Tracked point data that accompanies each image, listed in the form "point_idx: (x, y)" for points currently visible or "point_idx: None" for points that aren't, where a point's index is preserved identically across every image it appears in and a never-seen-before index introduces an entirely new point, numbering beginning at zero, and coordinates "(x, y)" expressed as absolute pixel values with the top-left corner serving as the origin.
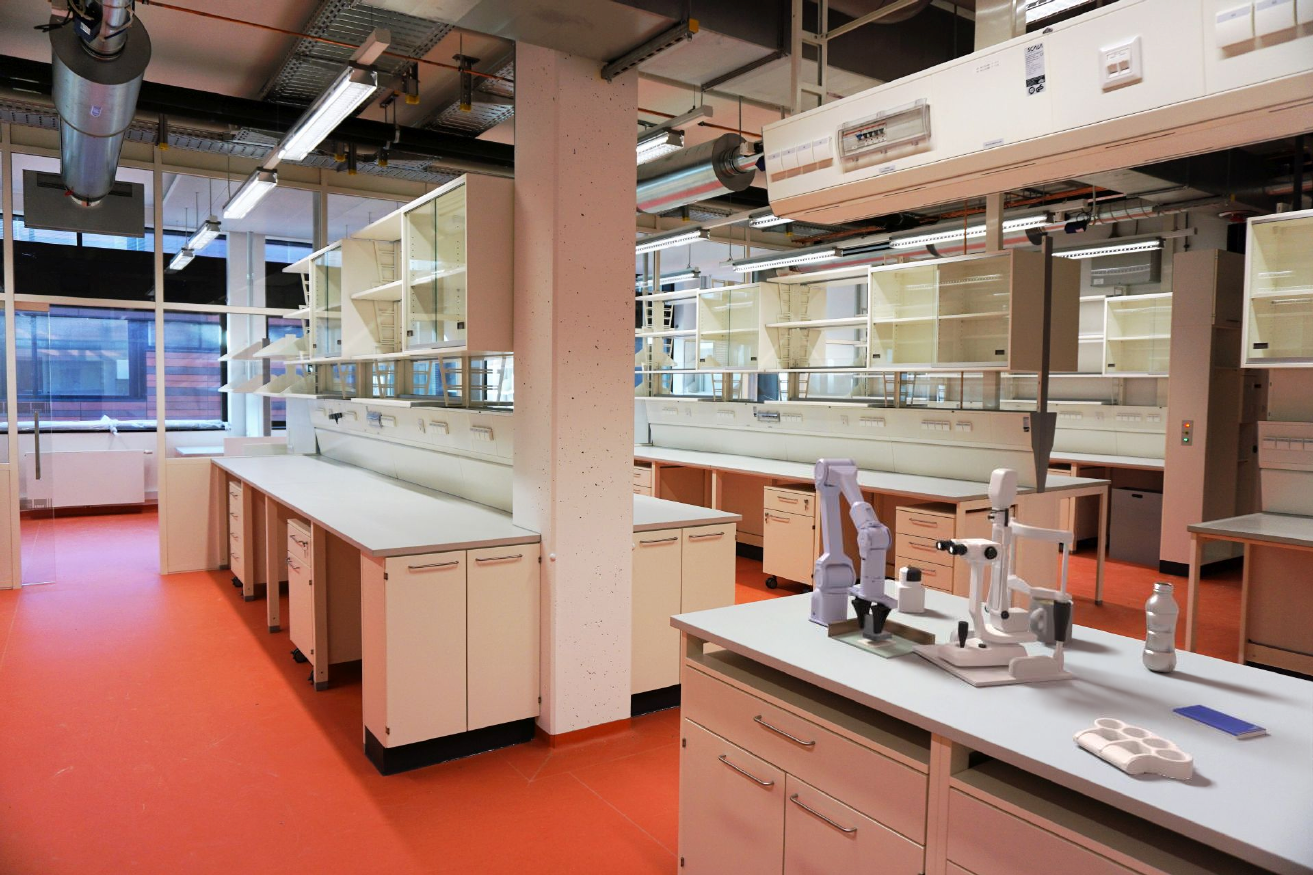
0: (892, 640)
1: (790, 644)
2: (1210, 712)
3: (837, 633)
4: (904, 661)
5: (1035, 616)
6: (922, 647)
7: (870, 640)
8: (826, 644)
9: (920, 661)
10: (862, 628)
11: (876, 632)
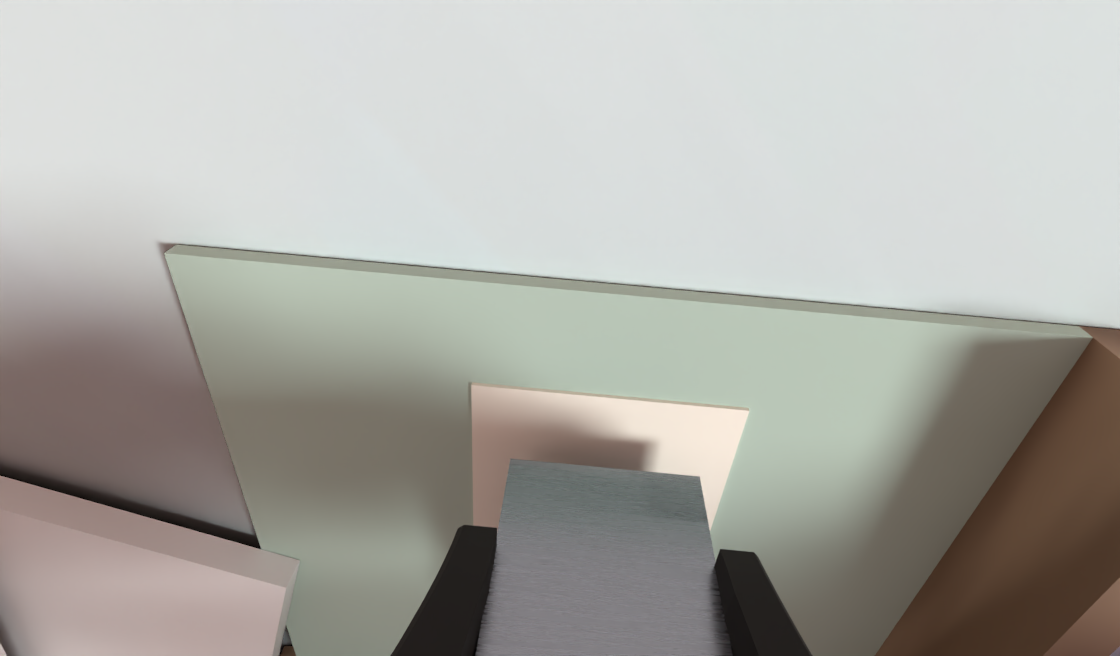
0: None
1: None
2: None
3: (1047, 431)
4: (57, 319)
5: None
6: (225, 613)
7: None
8: (1035, 31)
9: (39, 424)
10: (717, 565)
11: (454, 547)
